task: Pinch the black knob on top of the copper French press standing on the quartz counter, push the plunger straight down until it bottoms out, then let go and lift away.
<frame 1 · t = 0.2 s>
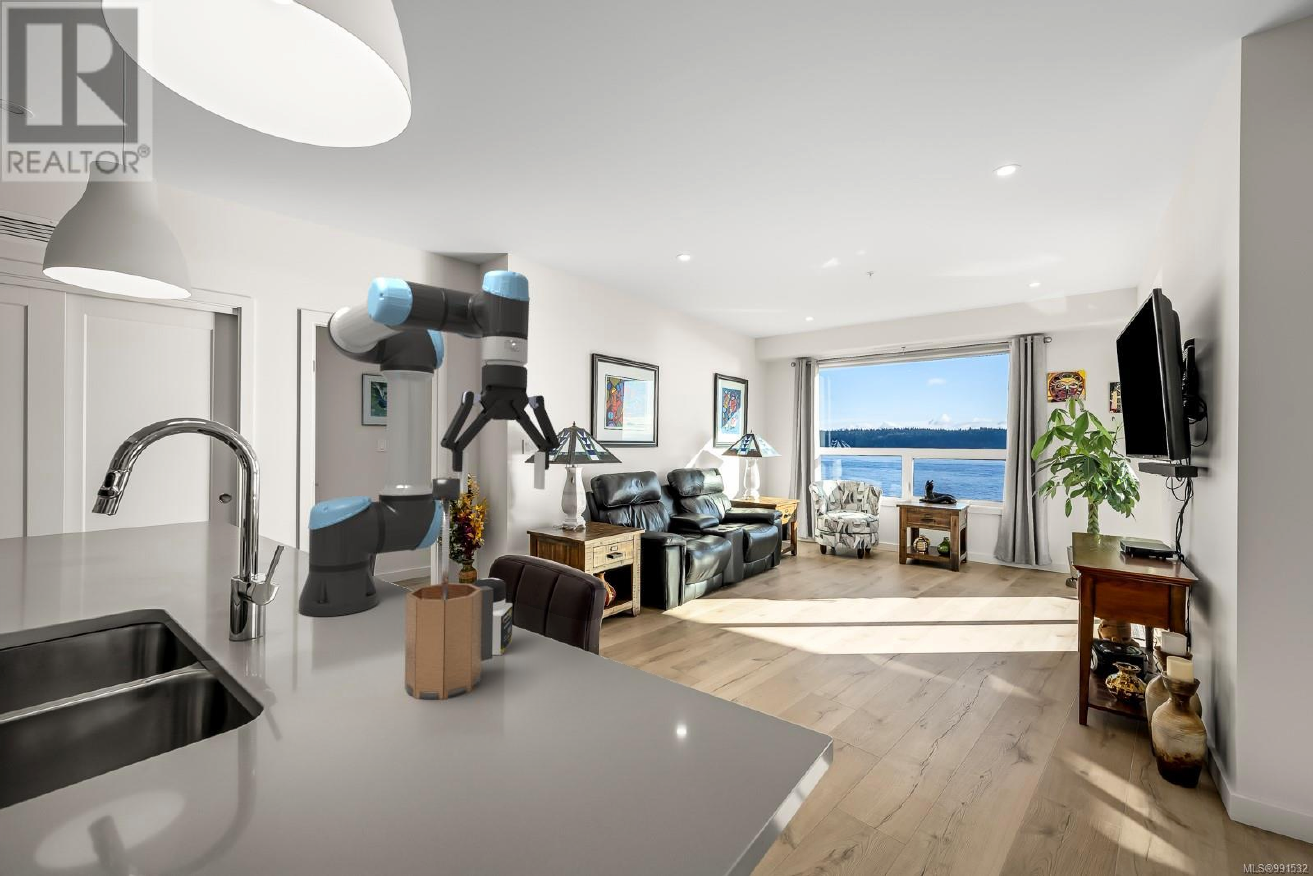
hand: (502, 490, 101), 28 cm above the worktop, fingers open, 13 cm apart
plunger: (445, 551, 89), point 20 cm above the worktop, slide at 8.0 cm
medicine bottle: (487, 649, 105), on the worktop
press carafe: (443, 684, 89), on the worktop
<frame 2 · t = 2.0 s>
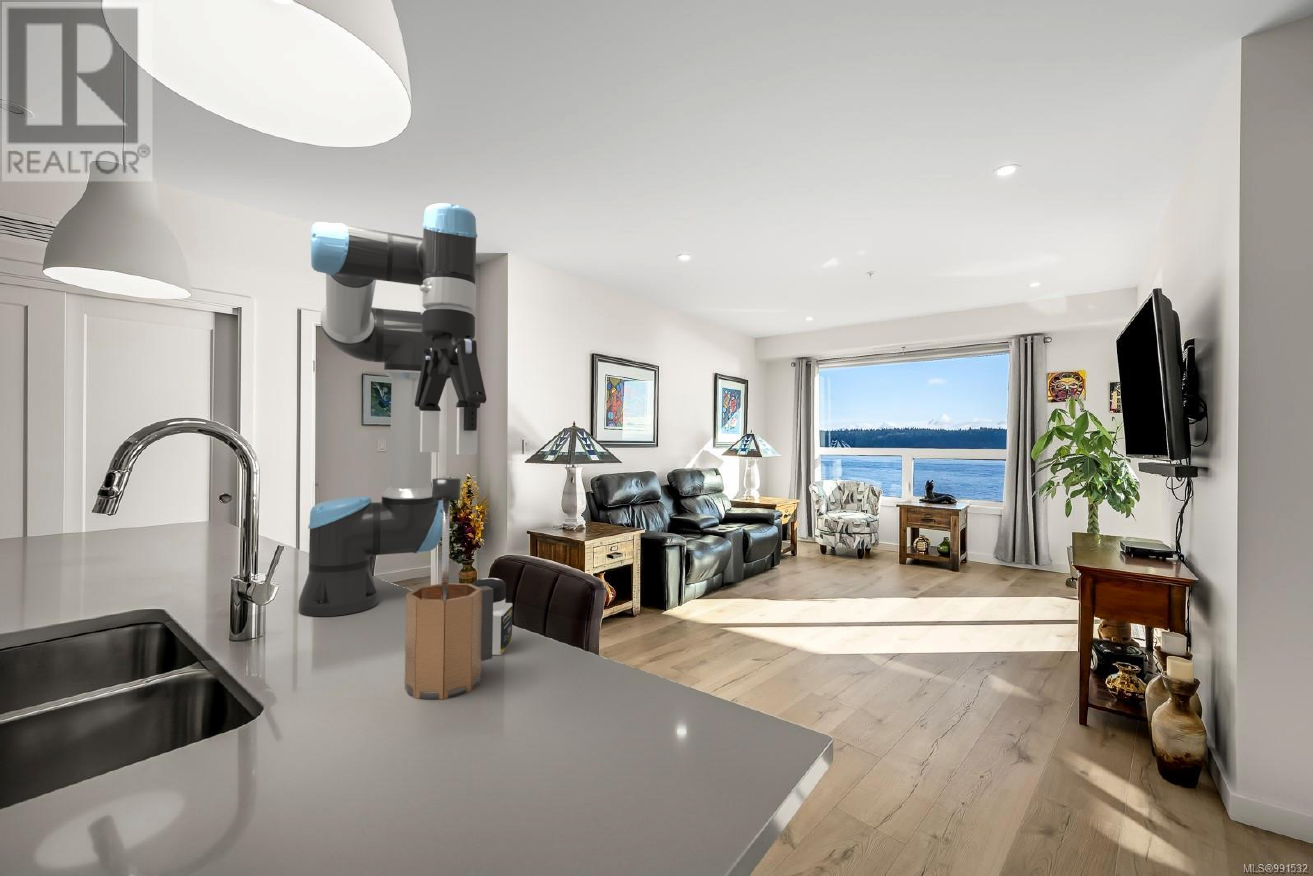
hand: (447, 453, 89), 35 cm above the worktop, fingers open, 13 cm apart
nothing on the worktop moved.
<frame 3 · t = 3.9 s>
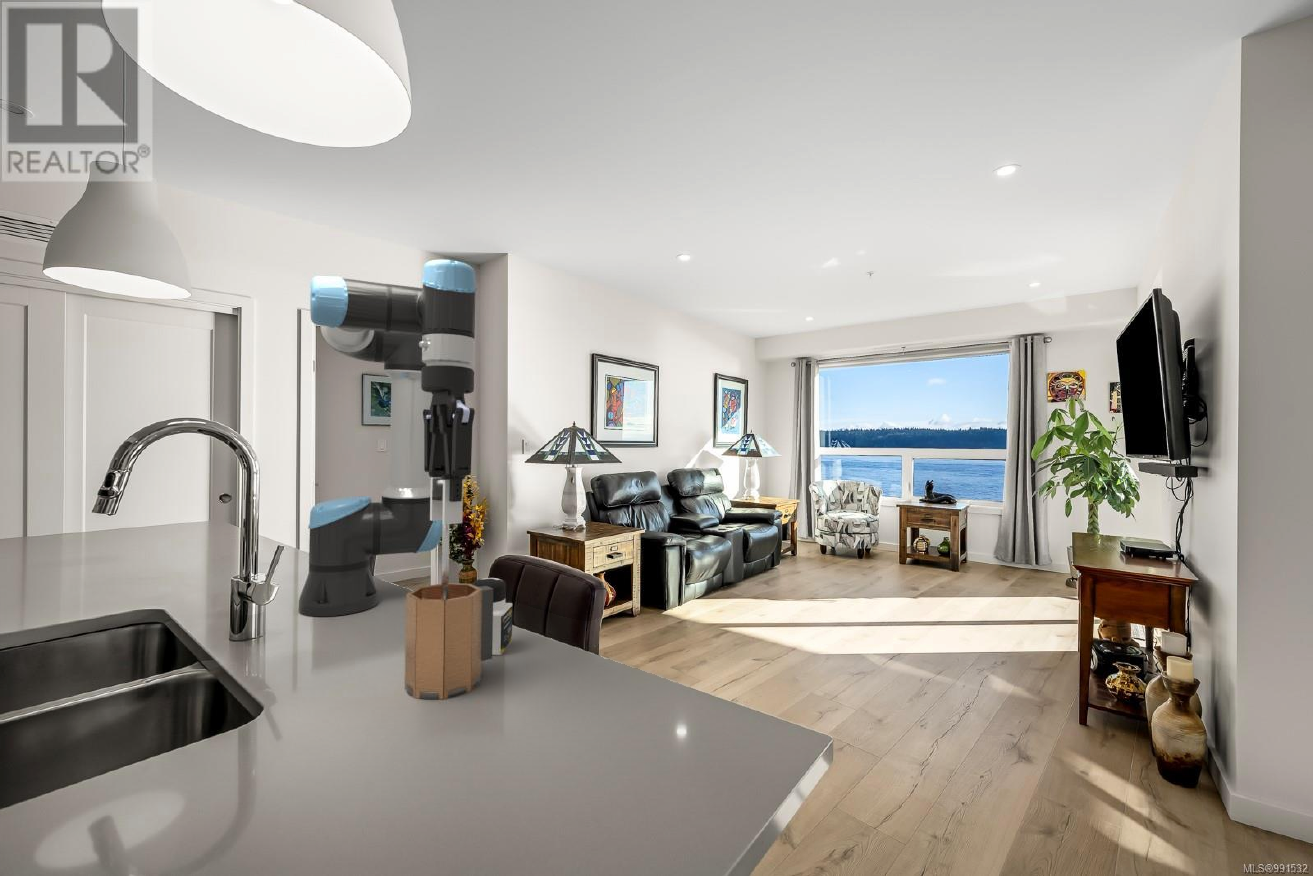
hand: (445, 521, 89), 25 cm above the worktop, fingers closed on plunger, 4 cm apart
plunger: (445, 551, 89), point 20 cm above the worktop, slide at 8.0 cm, touching gripper
everything else where it was.
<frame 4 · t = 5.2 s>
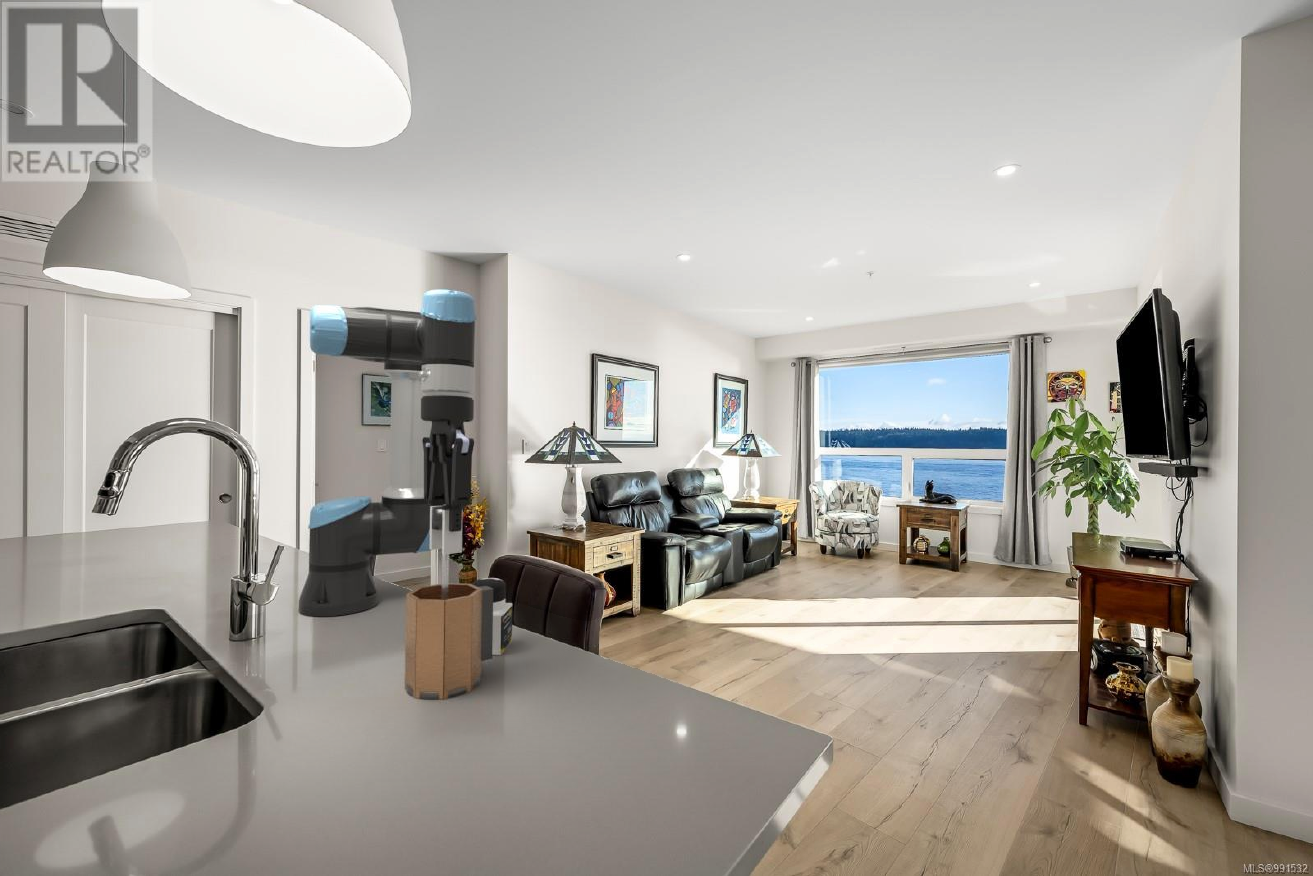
hand: (445, 550, 89), 20 cm above the worktop, fingers closed on plunger, 4 cm apart
plunger: (445, 580, 89), point 16 cm above the worktop, slide at 3.6 cm, touching gripper
everything else where it was.
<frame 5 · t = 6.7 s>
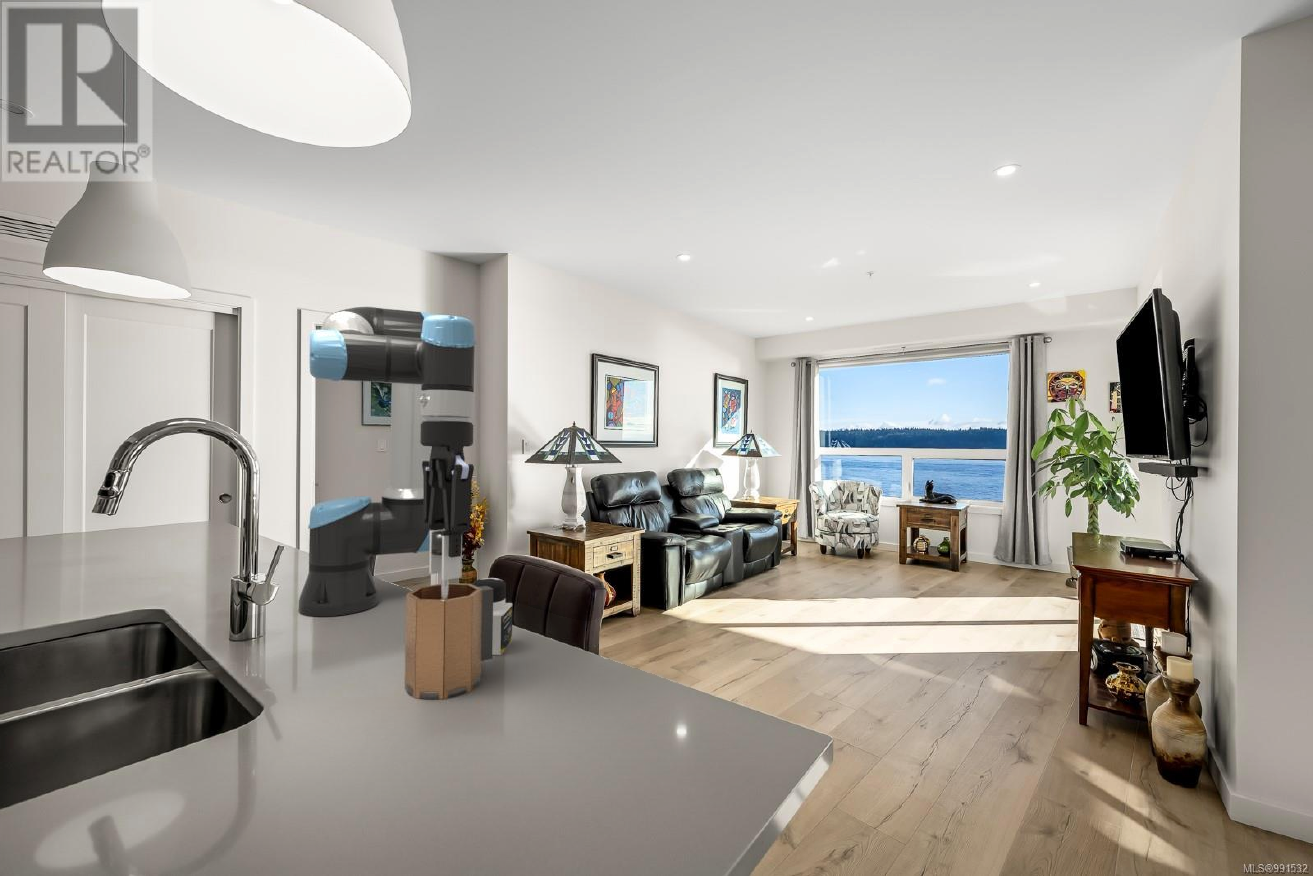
hand: (445, 575, 89), 17 cm above the worktop, fingers closed on plunger, 4 cm apart
plunger: (444, 605, 89), point 12 cm above the worktop, slide at -0.1 cm, touching gripper
everything else where it was.
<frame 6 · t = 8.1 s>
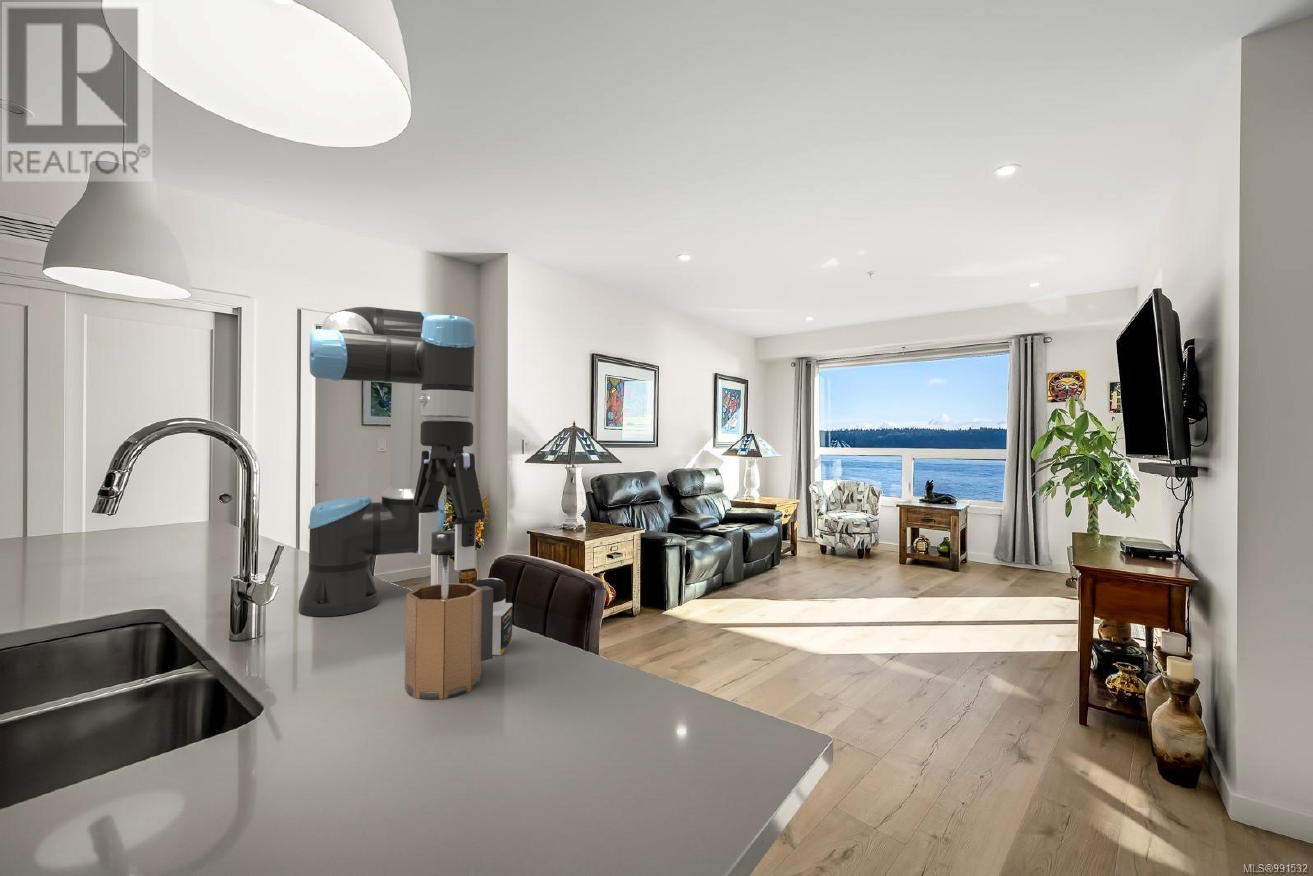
hand: (445, 561, 89), 19 cm above the worktop, fingers open, 13 cm apart
plunger: (444, 605, 89), point 12 cm above the worktop, slide at -0.1 cm
everything else where it was.
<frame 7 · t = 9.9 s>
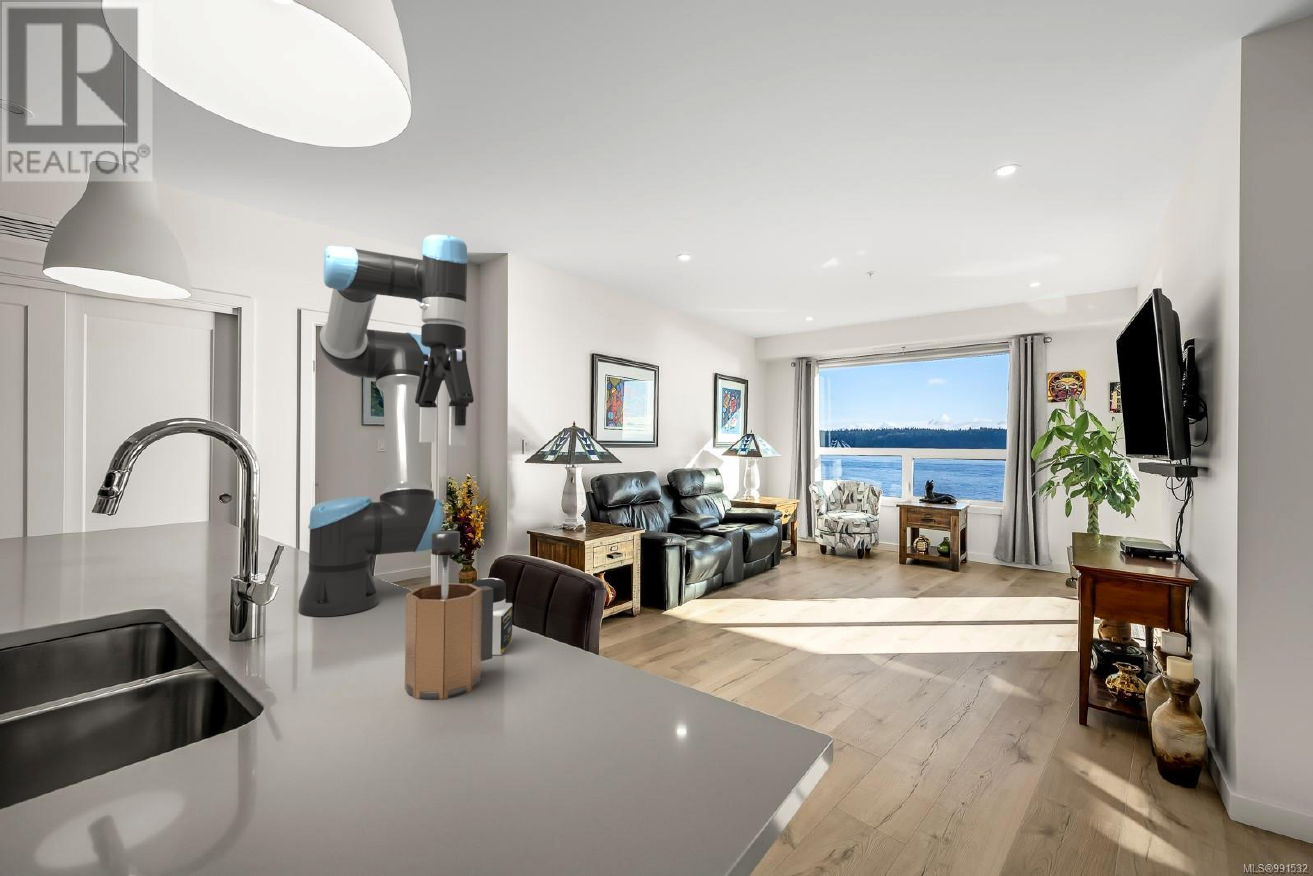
hand: (441, 443, 107), 36 cm above the worktop, fingers open, 13 cm apart
nothing on the worktop moved.
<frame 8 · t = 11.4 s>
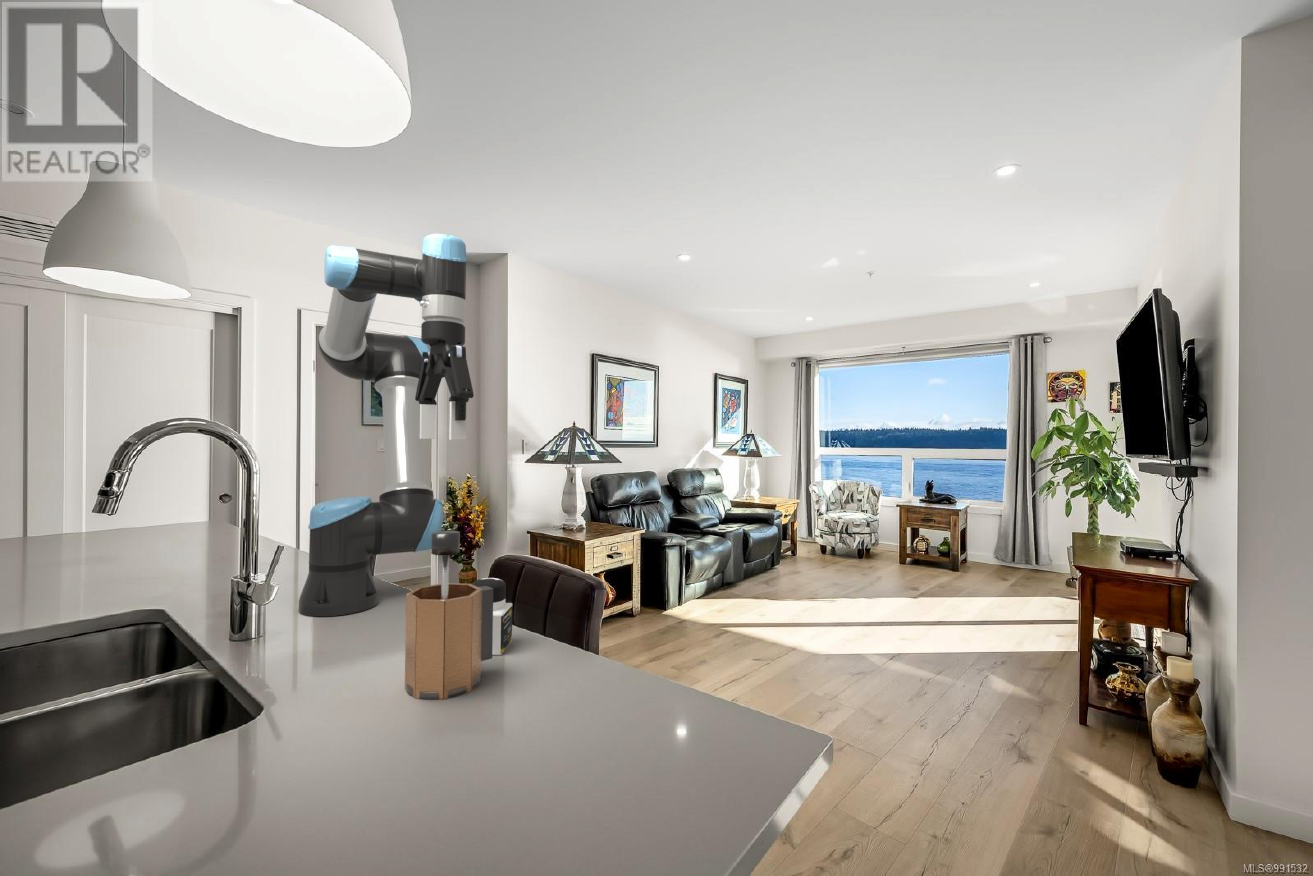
hand: (441, 439, 108), 37 cm above the worktop, fingers open, 13 cm apart
nothing on the worktop moved.
at the end: plunger slide at -0.1 cm; the gripper is holding nothing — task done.
